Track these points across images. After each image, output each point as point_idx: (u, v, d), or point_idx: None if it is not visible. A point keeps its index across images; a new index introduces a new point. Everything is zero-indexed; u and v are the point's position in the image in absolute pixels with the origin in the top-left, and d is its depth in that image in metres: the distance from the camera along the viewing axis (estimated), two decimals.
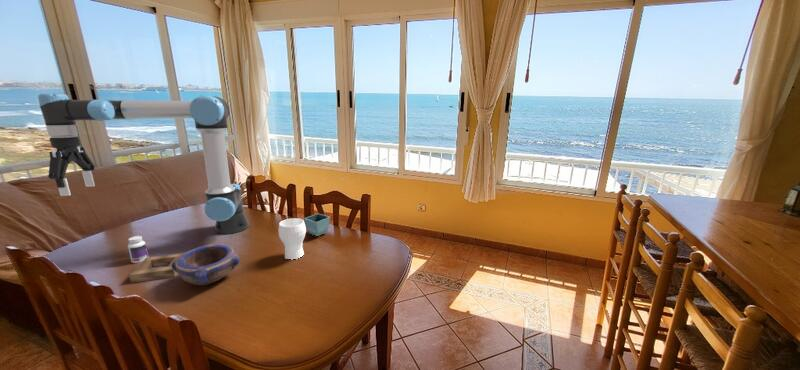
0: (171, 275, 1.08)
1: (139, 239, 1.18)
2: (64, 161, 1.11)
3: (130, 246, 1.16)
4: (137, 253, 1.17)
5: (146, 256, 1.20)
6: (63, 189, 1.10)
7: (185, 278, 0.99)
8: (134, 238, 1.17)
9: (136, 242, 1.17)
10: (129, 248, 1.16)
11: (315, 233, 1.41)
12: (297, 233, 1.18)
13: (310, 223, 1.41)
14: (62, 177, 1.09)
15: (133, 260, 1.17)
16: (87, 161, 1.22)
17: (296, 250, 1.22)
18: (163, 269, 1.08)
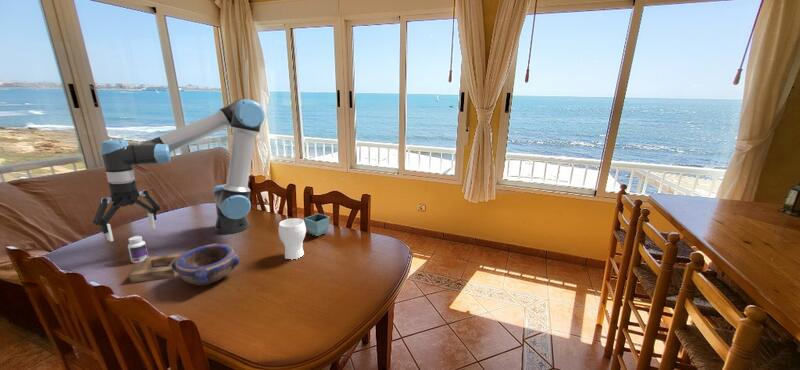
0: (171, 275, 1.08)
1: (139, 239, 1.18)
2: (113, 207, 1.10)
3: (130, 246, 1.16)
4: (137, 253, 1.17)
5: (146, 256, 1.20)
6: (108, 234, 1.10)
7: (185, 278, 0.99)
8: (134, 238, 1.17)
9: (136, 242, 1.17)
10: (129, 248, 1.16)
11: (315, 233, 1.41)
12: (297, 233, 1.18)
13: (310, 223, 1.41)
14: (104, 224, 1.08)
15: (133, 260, 1.17)
16: (151, 204, 1.21)
17: (296, 250, 1.22)
18: (163, 269, 1.08)
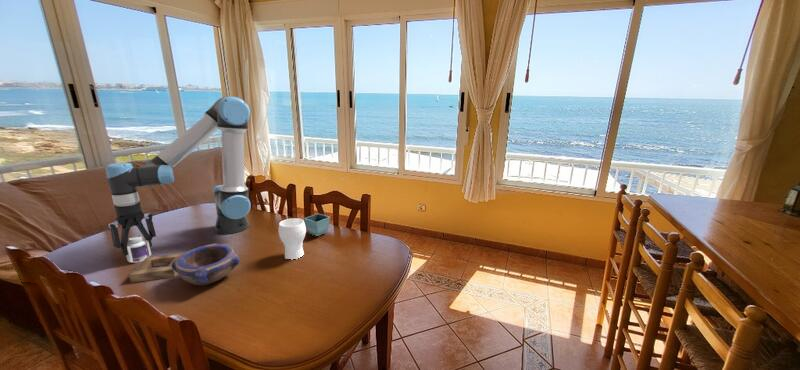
0: (171, 275, 1.08)
1: (139, 239, 1.18)
2: (124, 230, 1.14)
3: (130, 246, 1.16)
4: (137, 253, 1.17)
5: (146, 256, 1.20)
6: (128, 256, 1.16)
7: (185, 278, 0.99)
8: (134, 238, 1.17)
9: (136, 242, 1.17)
10: None
11: (315, 233, 1.41)
12: (297, 233, 1.18)
13: (310, 223, 1.41)
14: (124, 246, 1.14)
15: (133, 260, 1.17)
16: (150, 228, 1.21)
17: (296, 250, 1.22)
18: (163, 269, 1.08)
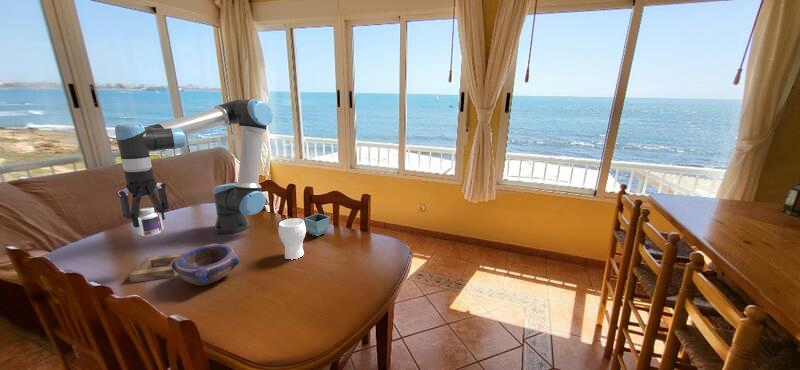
0: (171, 275, 1.08)
1: (151, 210, 1.06)
2: (135, 199, 1.03)
3: (141, 217, 1.05)
4: (148, 225, 1.06)
5: (158, 229, 1.09)
6: (139, 228, 1.05)
7: (185, 278, 0.99)
8: (145, 209, 1.06)
9: (148, 214, 1.06)
10: None
11: (315, 233, 1.41)
12: (297, 233, 1.18)
13: (310, 223, 1.41)
14: (135, 217, 1.03)
15: (144, 233, 1.06)
16: (162, 200, 1.10)
17: (296, 250, 1.22)
18: (163, 269, 1.08)
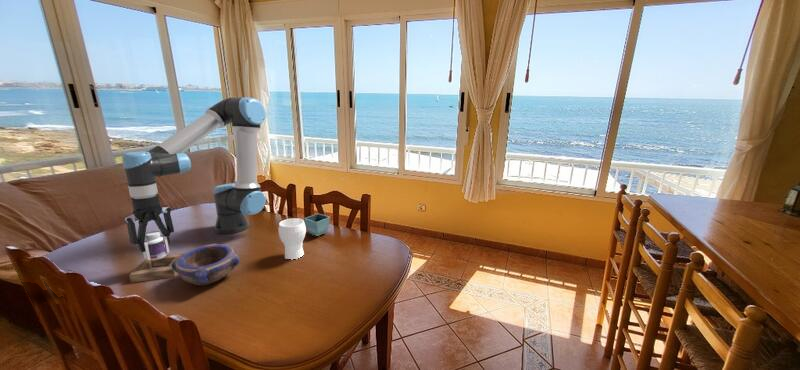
0: (171, 275, 1.08)
1: (157, 235, 1.09)
2: (141, 224, 1.05)
3: (147, 242, 1.07)
4: (154, 250, 1.08)
5: (164, 253, 1.11)
6: (145, 253, 1.08)
7: (185, 278, 0.99)
8: (151, 233, 1.08)
9: (154, 238, 1.08)
10: None
11: (315, 233, 1.41)
12: (297, 233, 1.18)
13: (310, 223, 1.41)
14: (142, 242, 1.05)
15: (150, 257, 1.08)
16: (168, 223, 1.13)
17: (296, 250, 1.22)
18: (163, 269, 1.08)
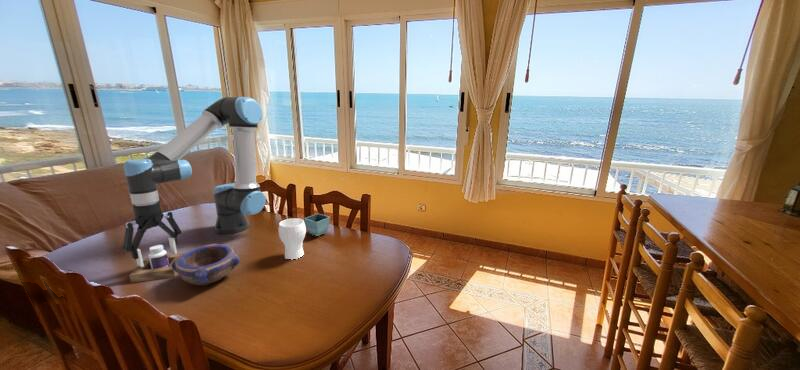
0: (171, 275, 1.08)
1: (160, 248, 1.10)
2: (140, 230, 1.05)
3: (151, 256, 1.09)
4: (158, 263, 1.10)
5: (167, 266, 1.13)
6: (138, 260, 1.06)
7: (185, 278, 0.99)
8: (155, 247, 1.10)
9: (158, 252, 1.10)
10: (150, 258, 1.09)
11: (315, 233, 1.41)
12: (297, 233, 1.18)
13: (310, 223, 1.41)
14: (134, 249, 1.04)
15: None
16: (173, 226, 1.14)
17: (296, 250, 1.22)
18: (163, 269, 1.08)
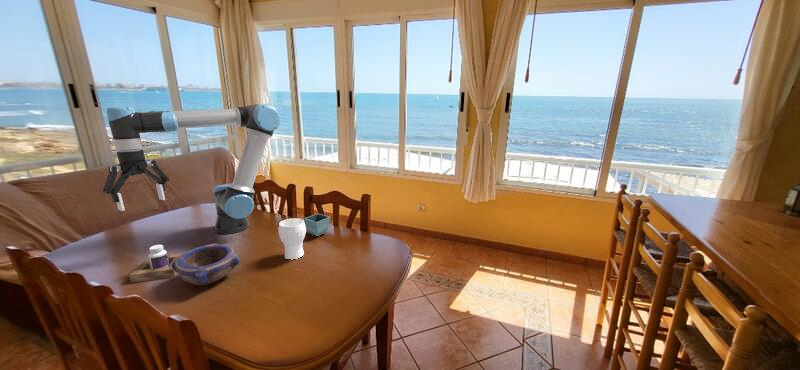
0: (171, 275, 1.08)
1: (160, 248, 1.10)
2: (123, 175, 1.08)
3: (151, 256, 1.09)
4: (158, 263, 1.10)
5: (167, 266, 1.13)
6: (118, 204, 1.08)
7: (185, 278, 0.99)
8: (155, 247, 1.10)
9: (158, 252, 1.10)
10: (150, 258, 1.09)
11: (315, 233, 1.41)
12: (297, 233, 1.18)
13: (310, 223, 1.41)
14: (115, 192, 1.06)
15: None
16: (160, 174, 1.19)
17: (296, 250, 1.22)
18: (163, 269, 1.08)
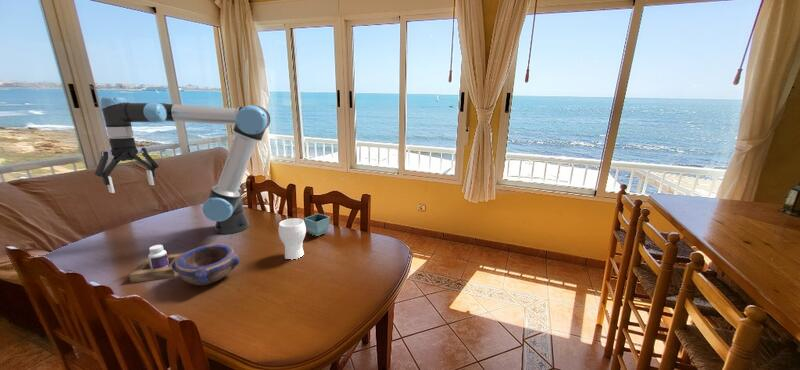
0: (171, 275, 1.08)
1: (160, 248, 1.10)
2: (114, 160, 1.17)
3: (151, 256, 1.09)
4: (158, 263, 1.10)
5: (167, 266, 1.13)
6: (109, 186, 1.18)
7: (185, 278, 0.99)
8: (155, 247, 1.10)
9: (158, 252, 1.10)
10: (150, 258, 1.09)
11: (315, 233, 1.41)
12: (297, 233, 1.18)
13: (310, 223, 1.41)
14: (105, 175, 1.15)
15: None
16: (150, 161, 1.28)
17: (296, 250, 1.22)
18: (163, 269, 1.08)
